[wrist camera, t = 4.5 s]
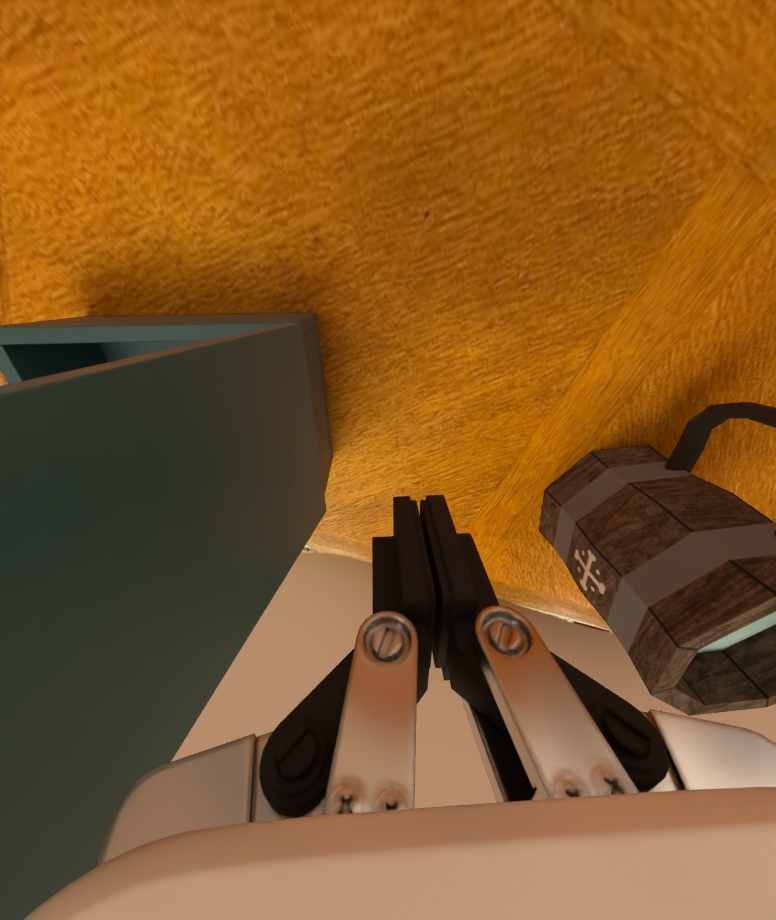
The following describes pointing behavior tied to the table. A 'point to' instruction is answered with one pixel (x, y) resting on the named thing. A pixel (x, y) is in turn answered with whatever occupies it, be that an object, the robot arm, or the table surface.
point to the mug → (674, 567)
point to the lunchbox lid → (134, 573)
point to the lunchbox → (151, 348)
